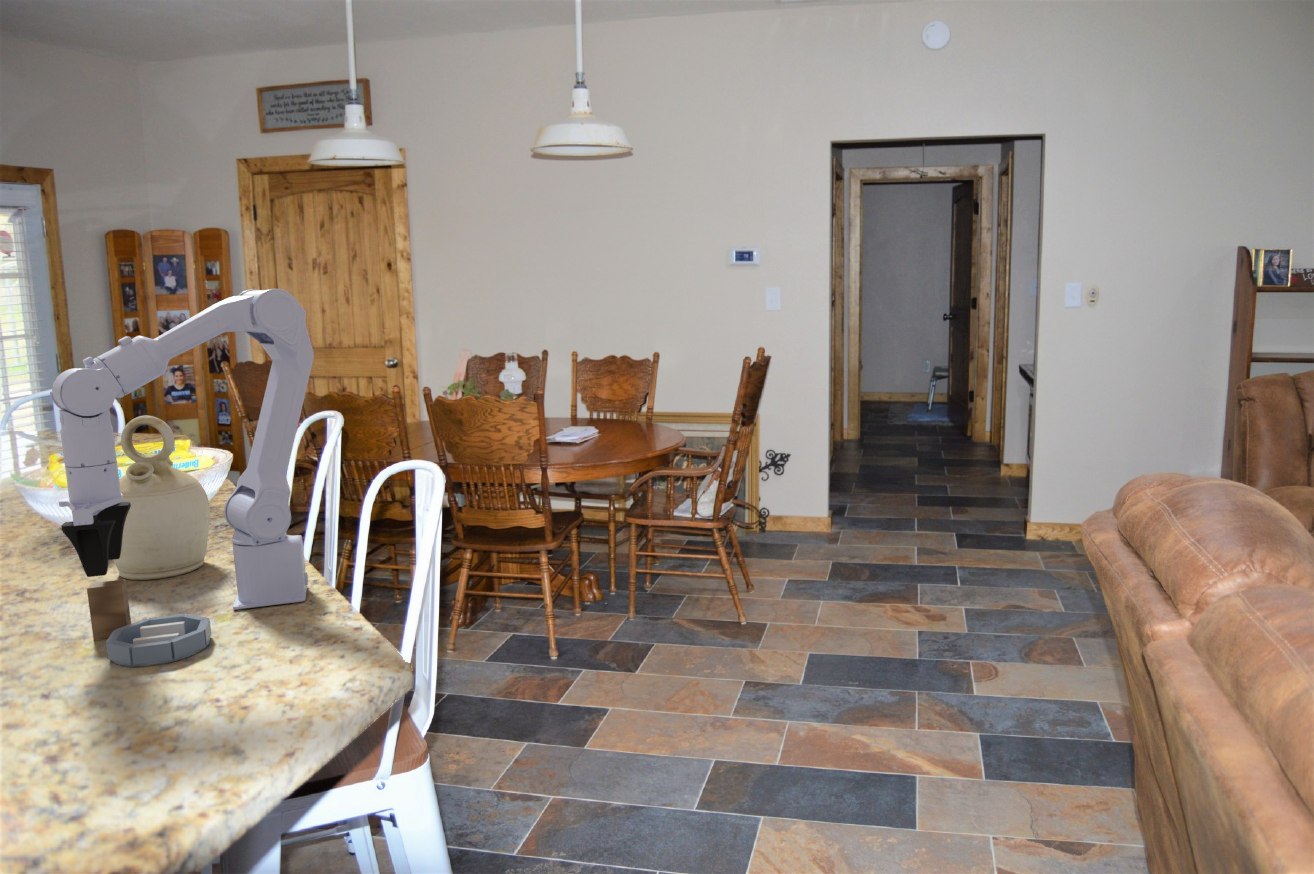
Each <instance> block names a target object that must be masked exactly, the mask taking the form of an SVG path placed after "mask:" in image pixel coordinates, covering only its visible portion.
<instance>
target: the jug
mask: <svg viewBox="0 0 1314 874" xmlns="http://www.w3.org/2000/svg"><path fill="white" fill-rule="evenodd" d="M141 426H149V427H152V428H154V429H156V430H157V431H158V432H159V433H160V435H161V437H162V441H163V443H162V444H163V445H162V449H161V450H160V451H159V452H158V453H156V454H143V453H141V452H139V451H138V450H137V449H136V448H135V446H134V444H133V436H134V433H135V431H136V429H138V428H139V427H141ZM175 440H176V439H175V435H174V431H173V430H172V428H171V427H170V426H169V424H168V423H166V422H165V421H164V420H162V419H161V418H158V417H156V416H154V415H140V416H137V417H135V418H132V419H131V420H130V421H128V422H127V423H126V424H125V426H124V427H123V429H122V431H121V435H120V444H121V447H122V451H123V453H124V454H125V455H126V457H128V458H129V460H131V461H133V462H134V463H132V464H130V465H129V466H128V467H127V469H126V470H125V474H124V475H123V476H122V477H119V482H120V491H121V493H122V494H123V501H122V502H130V503H131V507H130V509H129V512H128V514H127V517H126V520H125V524H124V529H123V538H122V548H121V555H120V558H119V559H114V560H113V562H114V566H115V567H116V568H117V571H118V575H119V576H120V577H121V578H124V579H126V580H130V581H131V580H132V581H147V580H159V579H166V578H172V577H173V578H174V577H178V576H181V575H185V574H188V573H191V572H194V571H196V570H197V569H199V568H201V567H202V566H203V565H204V563H205V557H206V554H207V548H208V540H209V533H210V532H209V529H210V521H211V519H210V518H211V507H210V502H209V497H208V494H207V493H206V492H207V491H206V489H204V487H203V485H202V484H201V483H200V481H199V480H198V479H196V477H194V476H192V475H191V474H189V473H187V472H185V471H183V470H182V469H178V468H175V467H173V465H174V463H173V461H172V460H171V459H170V456H171V455H172V454H173V451H174V450H175V449H174V448H175Z"/></svg>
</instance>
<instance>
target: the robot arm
mask: <svg viewBox="0 0 1314 874" xmlns="http://www.w3.org/2000/svg"><path fill="white" fill-rule="evenodd" d="M306 319H307V311H306V310H305V309H304V308H303V307H302V305H301V303H300V302H299V301H298V300H297V298H296V297H294V295H293V294H291V292H289V291H286V290H285V289H281V288H270V289H269V288H268V289H255V288H251V289H247V290H243V291H242V292H240V293H239V294H238V295H234V296H229V297H227V298H225V299H223V300H220V301H218V302H216V303H214V304H211V306H208V307H207V308H205V309H204V310H201V311H200V312H198V313H197V314H195V315H192V317H189V318H188V319H186V320H184V321H182V322H181V323H179V324H177V325H176V326H174V327H172V328H171V329H169V330H167V331H165V332H164V333H162V334H161V335H158V336H157V337H155V338H150V337H147V336H143V335H136V336H135V337H132V338H131V336H128V335H125V336H124V337H122V338H119V339H118V341H117V342H118V344H119V345H117V346H115V347H113V348H112V349H110V350H108V351H105V352H104V353H102V354H100V355H99V356H96V357H95V358H93V357H92V356H88V357H85V358H84V359H82V363H83V364H84V368H79V367H77V368H74V367H73V368H69V369H67V370H64V371H63V372H61V373H60V374H59V375H57V376H56V379H55V380H54V382H53V383H52V388H51V391H50V393H49V395H50V398H51V400H52V401H53V404H54V405H55V406H56V407H57V408H59V412H58V413H59V422H60V426H61V428H60V439H61V445H62V453H63V462H64V469H65V476H66V484H67V491H68V497H67V498H62V499H60V500H59V501H58V507H60V508H65V507H68V508H69V509H70V510H71V514H72V521H64V522H63V523H62V524H61V525H60V527H61V531H62V533H63V534H64V535H65V537H67V539H68V540H69V541H70V543H71V545H72V546H73V548H74V550H75V552H76V553H77V556H78V558H79V560H80V563H81V566H82V568H83V570H84V573H85V575H86V577H87V578H92V577H93V578H94V577H100V576H101V577H102V576H106V575H107V573H108V570H109V561H111V560H113V561H114V559H119V558H120V555H121V548H122V538H123V529H124V524H125V520H126V517H127V514H128V512H129V509H130V507H131V503H130V502H122V501H123V494H122V493H121V491H120V482H119V479H120V474H119V467H118V461H117V451H116V444H115V436H114V435H115V434H114V427H113V425H112V421H111V420H112V418H111V408H112V406H113V404H114V403H115V399H116V398H118V399H121V398H123V397H125V396H126V395H129V394H131V393H132V392H134V391H136V390H138V389H140V388H141V387H143V386H145V385H147V384H148V383H150V382H152V381H154V380H156V379H158V378H160V377H161V376H163V375H165V373H166V372H167V368H168V365H169V362H170V361H171V359H173V358H175V357H177V356H180V355H181V354H184V353H185V352H187V351H191V350H192V349H193V348H196V347H198V346H200V345H202V344H203V343H206V342H208V341H210V340H212V339H214V338H216V337H218V336H220V335H221V334H224V333H229V332H231V333H237V332H244V333H246V334H247V335H249V336H250V337H251V338H253V339H254V340H256V341H257V342H258V343H259V344H260V346H262V348H263V350H264V351H265V352H266V354H267V355H268V356H269V357H270V359H271V361H272V362H271V366H270V370H269V371H270V372H269V374H268V379H267V384H266V386H265V391H264V395H263V396H264V397H263V398H262V399H263V400H262V404H261V407H260V413H259V417H258V421H257V425H256V429H255V432H254V433H255V434H254V438H253V442H252V446H251V451H250V454H249V459H248V463H247V466H246V467H247V468H245V470H244V471H243V472H242V473H241V475H240V476H239V477H238V479H237V483H236V487H235V488H234V491H233V492H232V493H231V494H230V496H229V497H228V498H227V499H226V502H225V503H224V509H223V514H224V519H225V521H226V523H227V524H228V525H229V526H230V527H231V528H232V529H234V531H233V535H232V537H231V541H232V553H233V562H234V569H235V570H234V571H235V581H236V588H237V589H236V590H237V591H236V592H237V593H236V596H235V599H234V602H233V604H232V610H236V611H237V610H242V609H243V610H245V609H250V608H251V609H252V608H260V607H267V606H268V607H269V606H276V605H284V604H292V603H302V602H305V601H306V598H307V588H308V585H309V577H308V572H306V563H305V554H304V553H305V552H304V550H305V549H304V543H303V537H302V535H301V534H298V535H297V534H296V535H294V534H293V535H290V534H289V535H288V534H287V531H288V529H289V527H290V525H291V522H292V513H291V509H290V503H289V502H290V496H291V489H290V485H289V482H288V478H287V472H288V469H289V464H290V460H291V455H292V452H293V447H294V443H295V439H296V435H297V430H298V427H299V422H300V418H301V413H302V410H303V405H304V402H305V401H304V400H305V397H306V392H307V389H308V385H309V380H310V375H311V371H312V366H313V363H314V356H315V354H314V352H315V351H314V348H313V345H312V341H311V338H310V334H309V331H308V327H307V323H306V321H307V320H306Z"/></svg>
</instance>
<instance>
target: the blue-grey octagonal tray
mask: <svg viewBox="0 0 1314 874" xmlns="http://www.w3.org/2000/svg"><path fill="white" fill-rule="evenodd" d="M211 636H212V627H211V619H210V617H206V616H201V615H196V614H195V615H194V614H191V613H180V614H171V615H170V614H169V615H163V616H162V615H161V616H155V617H154V616H153V617H148V618H145V619H141V620H138V621H135V622H133V623H132V622H131V624H129V625H127V626H124V627H121V628H118V629H115V630H114V631H113V632H112V634H111V635H110V636H109V638H108V639H106V641H105V646H106V654H107V659H108V660H109V661H112V663H113V664H116V665H118V666H122V667H134V668H138V667H151V666H160V665H163V664H169V663H174V662H176V661H180V660H184V659H186V658H189V657H191V656H194V655H196V654H198V653H200V652H202V651H203V650H205V649H207V647H208V646H209V645H210V642H211V640H210V639H211Z"/></svg>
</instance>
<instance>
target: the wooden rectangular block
mask: <svg viewBox="0 0 1314 874" xmlns="http://www.w3.org/2000/svg"><path fill="white" fill-rule="evenodd" d="M86 593H87V600H88V609H89V616H90V624H91V630H92V638H93V642H94V641H95V642H96V641H101V640H102V641H103V640H107V639H108V638H109V636H110V635H111V634H112V632H113V631H114V630H115V629H118V628H121V627H124V626H127V625H129V624H132V619H131V610H130V604H129V603H130V602H129V595H128V587H127V579H125V578H124V579H116V580H108V581H107V580H106V581H99V582H98V581H97V582H91V583H90V584H89V585H88V586H87V587H86Z"/></svg>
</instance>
